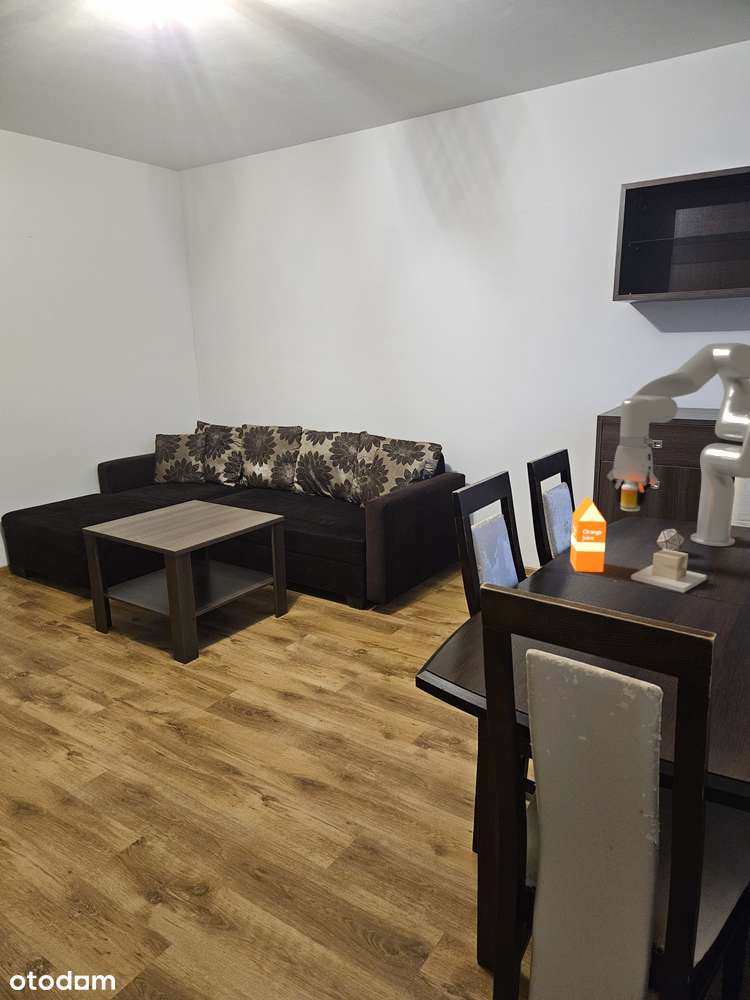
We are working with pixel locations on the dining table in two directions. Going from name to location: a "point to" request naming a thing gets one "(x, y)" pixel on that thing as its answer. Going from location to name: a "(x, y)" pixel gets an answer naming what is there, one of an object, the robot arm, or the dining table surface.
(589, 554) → the orange juice
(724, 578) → the dining table surface
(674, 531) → the game die
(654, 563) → the beech block
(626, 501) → the supplement bottle
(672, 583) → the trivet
